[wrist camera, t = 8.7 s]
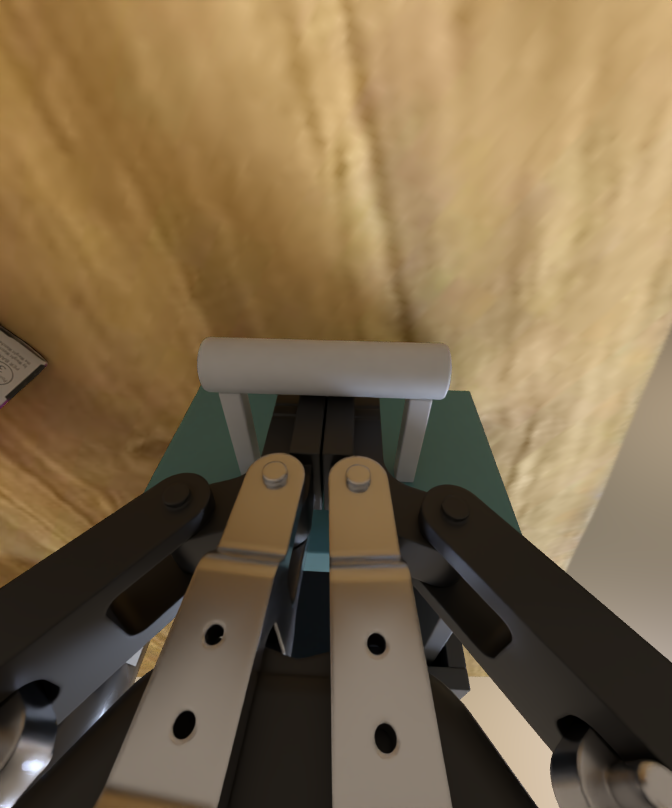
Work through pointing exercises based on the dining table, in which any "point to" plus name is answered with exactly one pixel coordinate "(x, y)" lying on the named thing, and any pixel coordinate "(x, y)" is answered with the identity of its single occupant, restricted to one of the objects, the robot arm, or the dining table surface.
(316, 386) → the drawer
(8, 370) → the candy bar box
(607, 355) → the dining table surface
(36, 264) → the dining table surface
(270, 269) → the dining table surface
